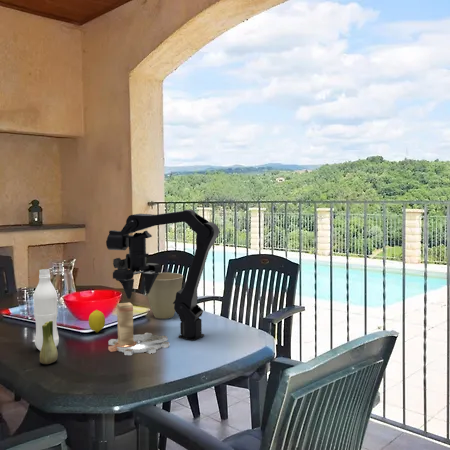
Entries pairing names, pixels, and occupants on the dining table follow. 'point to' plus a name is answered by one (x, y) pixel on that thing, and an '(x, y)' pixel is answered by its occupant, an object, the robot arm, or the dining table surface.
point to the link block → (125, 323)
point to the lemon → (96, 320)
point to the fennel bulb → (48, 345)
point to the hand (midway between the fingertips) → (138, 296)
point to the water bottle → (45, 307)
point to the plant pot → (164, 294)
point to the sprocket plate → (140, 344)
